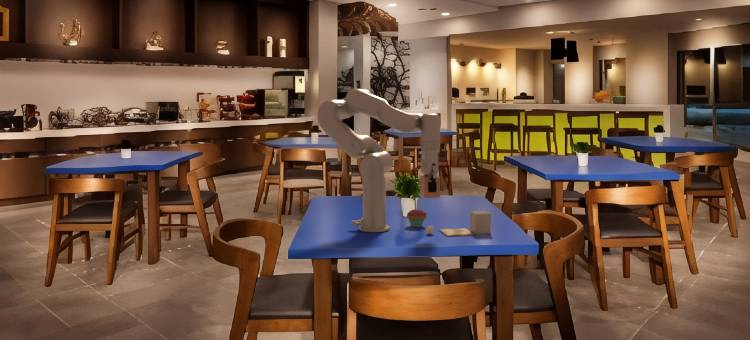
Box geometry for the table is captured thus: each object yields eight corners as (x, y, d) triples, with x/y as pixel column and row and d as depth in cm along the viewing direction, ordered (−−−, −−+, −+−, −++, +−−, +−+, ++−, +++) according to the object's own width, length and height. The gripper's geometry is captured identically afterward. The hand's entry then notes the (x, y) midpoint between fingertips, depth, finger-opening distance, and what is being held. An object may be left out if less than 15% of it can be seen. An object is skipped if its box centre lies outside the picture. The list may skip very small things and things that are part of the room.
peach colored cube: (424, 198, 238) (424, 177, 238) (420, 195, 245) (420, 175, 244) (439, 197, 240) (440, 177, 239) (435, 195, 246) (435, 175, 245)
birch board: (447, 236, 239) (447, 234, 239) (439, 230, 250) (439, 229, 250) (474, 235, 241) (474, 233, 241) (465, 229, 252) (465, 228, 252)
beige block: (475, 234, 244) (475, 214, 243) (470, 230, 250) (470, 211, 249) (490, 233, 245) (490, 213, 244) (484, 230, 251) (485, 210, 250)
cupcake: (403, 224, 262) (403, 197, 261) (421, 223, 266) (421, 195, 264) (412, 228, 255) (412, 200, 253) (430, 227, 258) (430, 198, 257)
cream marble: (426, 235, 242) (426, 227, 242) (424, 233, 245) (424, 225, 245) (434, 234, 242) (434, 226, 242) (432, 233, 246) (432, 225, 245)
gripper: (415, 144, 248) (415, 188, 250) (426, 147, 231) (426, 194, 233) (433, 143, 249) (433, 187, 251) (445, 146, 232) (445, 193, 234)
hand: (429, 190), depth 242 cm, fingers closed on peach colored cube, 6 cm apart
